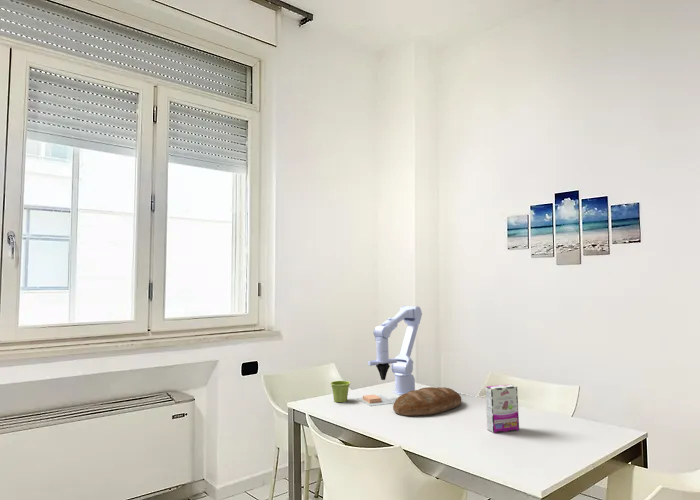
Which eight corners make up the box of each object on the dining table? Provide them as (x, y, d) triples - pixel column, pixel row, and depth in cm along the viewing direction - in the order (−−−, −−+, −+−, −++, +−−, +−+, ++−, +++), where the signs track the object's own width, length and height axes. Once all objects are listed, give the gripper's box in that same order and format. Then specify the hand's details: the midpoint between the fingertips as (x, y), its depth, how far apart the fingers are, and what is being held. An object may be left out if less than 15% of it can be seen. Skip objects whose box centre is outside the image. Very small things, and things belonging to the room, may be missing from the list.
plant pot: (354, 400, 241) (354, 381, 242) (343, 404, 233) (343, 385, 234) (337, 398, 246) (337, 380, 247) (326, 402, 238) (326, 383, 239)
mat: (380, 396, 249) (380, 395, 249) (396, 403, 234) (396, 402, 234) (356, 398, 244) (356, 398, 244) (370, 406, 229) (370, 405, 229)
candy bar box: (512, 426, 196) (510, 383, 197) (519, 430, 191) (518, 386, 192) (486, 429, 193) (484, 385, 194) (493, 433, 188) (491, 388, 189)
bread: (473, 405, 230) (473, 386, 230) (419, 421, 206) (418, 400, 206) (435, 397, 246) (435, 379, 247) (381, 411, 222) (380, 391, 223)
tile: (374, 394, 243) (362, 395, 241) (381, 398, 236) (369, 399, 233) (374, 398, 243) (362, 399, 241) (381, 402, 235) (369, 403, 233)
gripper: (392, 348, 251) (392, 376, 250) (365, 351, 245) (365, 379, 245) (398, 350, 244) (399, 379, 244) (371, 353, 239) (372, 382, 238)
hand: (383, 379), depth 244 cm, fingers closed
